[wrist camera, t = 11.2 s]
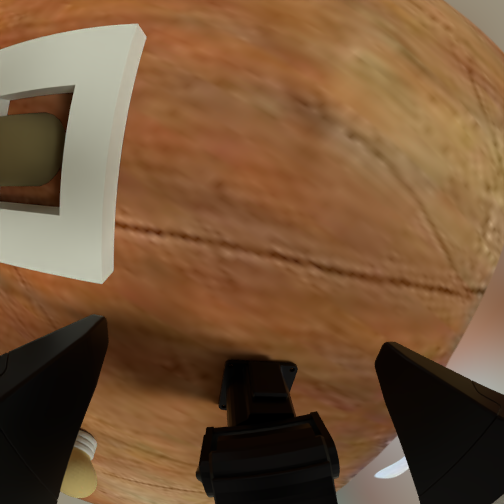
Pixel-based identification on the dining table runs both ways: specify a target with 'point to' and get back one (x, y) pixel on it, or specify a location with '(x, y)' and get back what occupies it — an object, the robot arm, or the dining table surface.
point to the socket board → (73, 147)
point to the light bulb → (80, 468)
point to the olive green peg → (30, 149)
